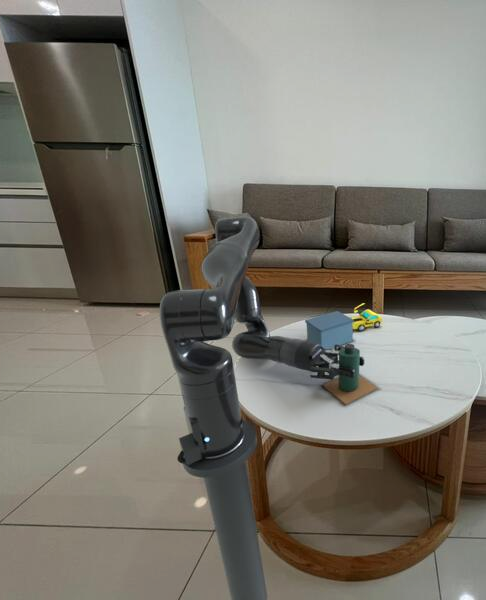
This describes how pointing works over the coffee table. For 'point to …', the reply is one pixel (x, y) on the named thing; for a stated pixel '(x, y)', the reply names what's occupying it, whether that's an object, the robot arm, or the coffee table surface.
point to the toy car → (366, 319)
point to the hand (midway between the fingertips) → (358, 367)
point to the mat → (349, 397)
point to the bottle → (350, 360)
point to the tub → (330, 329)
